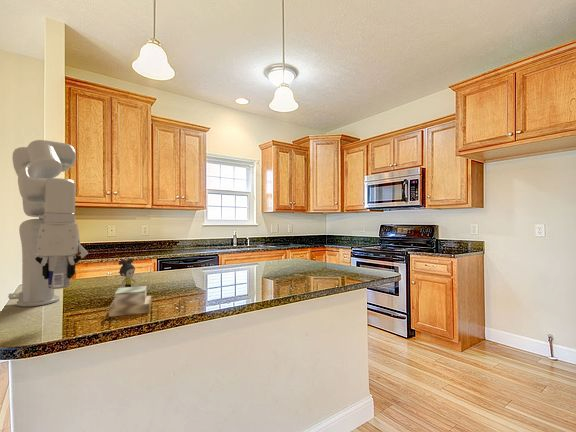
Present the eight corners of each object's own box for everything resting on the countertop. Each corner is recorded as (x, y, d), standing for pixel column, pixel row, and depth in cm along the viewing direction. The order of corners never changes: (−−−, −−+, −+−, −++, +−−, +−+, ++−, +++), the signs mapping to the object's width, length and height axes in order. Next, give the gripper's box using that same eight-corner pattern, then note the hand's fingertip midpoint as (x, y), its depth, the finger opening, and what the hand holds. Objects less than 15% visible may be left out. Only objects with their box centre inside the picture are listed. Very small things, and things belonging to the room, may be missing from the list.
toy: (125, 298, 124) (125, 260, 124) (113, 297, 125) (113, 260, 125) (139, 293, 132) (139, 258, 132) (128, 292, 133) (128, 257, 134)
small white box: (108, 316, 101) (108, 294, 101) (114, 306, 112) (114, 287, 112) (149, 312, 105) (149, 291, 105) (151, 303, 116) (151, 284, 116)
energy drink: (55, 284, 99) (56, 247, 98) (73, 285, 99) (74, 247, 99) (43, 289, 93) (44, 249, 93) (62, 289, 94) (63, 249, 93)
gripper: (19, 219, 89) (19, 282, 90) (89, 219, 95) (88, 279, 96) (30, 218, 96) (30, 276, 97) (94, 219, 102) (94, 274, 103)
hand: (59, 277), depth 96 cm, fingers closed on energy drink, 5 cm apart
